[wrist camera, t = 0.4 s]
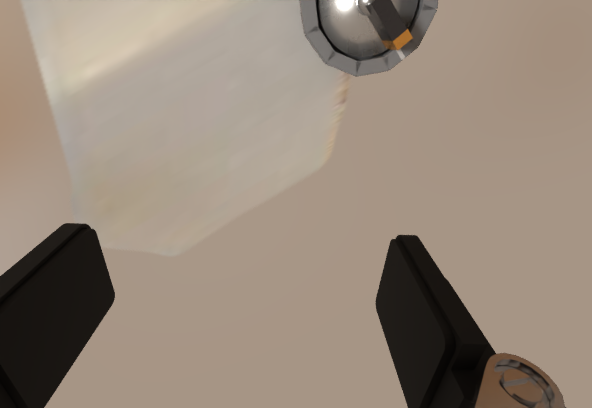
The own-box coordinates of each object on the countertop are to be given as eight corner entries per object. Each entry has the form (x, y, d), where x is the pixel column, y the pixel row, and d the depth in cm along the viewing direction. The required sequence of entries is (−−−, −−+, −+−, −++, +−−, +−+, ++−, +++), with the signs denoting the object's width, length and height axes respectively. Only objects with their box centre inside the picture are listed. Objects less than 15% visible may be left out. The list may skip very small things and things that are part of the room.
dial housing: (299, -83, 30) (300, -96, 28) (441, -81, 31) (457, -93, 28) (297, 73, 37) (298, 76, 35) (413, 73, 38) (424, 77, 35)
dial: (297, -6, 32) (299, -13, 28) (381, -89, 29) (398, -112, 25) (353, 75, 36) (362, 81, 32) (431, 10, 33) (454, 6, 29)
